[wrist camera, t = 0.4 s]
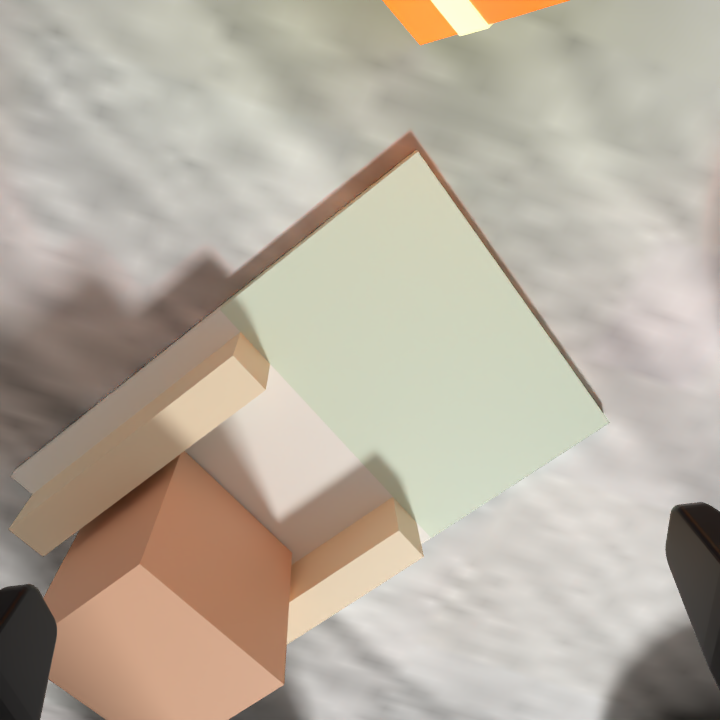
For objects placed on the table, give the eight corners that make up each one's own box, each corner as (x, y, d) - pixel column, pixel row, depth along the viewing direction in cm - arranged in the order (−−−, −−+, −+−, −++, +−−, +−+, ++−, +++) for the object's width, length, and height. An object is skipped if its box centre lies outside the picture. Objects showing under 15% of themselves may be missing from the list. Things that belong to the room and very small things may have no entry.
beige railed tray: (238, 653, 28) (231, 705, 26) (16, 468, 24) (-17, 510, 22) (604, 416, 24) (633, 451, 22) (415, 150, 20) (427, 159, 18)
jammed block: (196, 617, 26) (163, 760, 21) (82, 523, 24) (13, 654, 19) (291, 553, 25) (284, 684, 20) (182, 449, 23) (139, 564, 18)
